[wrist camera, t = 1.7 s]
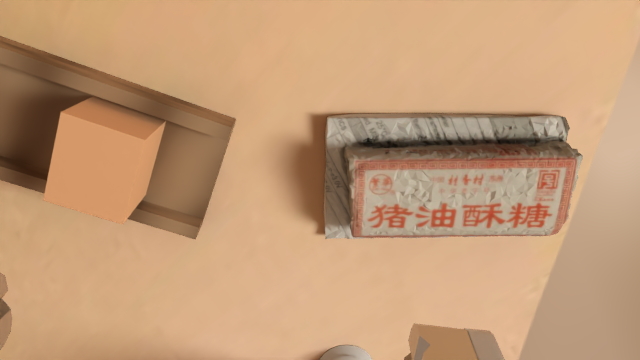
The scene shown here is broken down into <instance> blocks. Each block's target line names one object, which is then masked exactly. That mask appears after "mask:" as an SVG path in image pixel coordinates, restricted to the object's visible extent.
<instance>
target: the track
mask: <svg viewBox="0 0 640 360" xmlns="http://www.w3.org/2000/svg"><path fill="white" fill-rule="evenodd" d="M93 96H96V97H99V98H102V99H105V100H108V101H111V102H114V103H117V104H120V105H123V106H126V107H129V108H131V109H134V110H137V111H140V112H143V113H146V114H149V115H152V116H155V117H158V118H161V119H164V120H166V123H165V127H164V131H163V134H162V138H161V141H160V145H159V149H158V152H157V156H156V159H155V163H154V167H153V170H152V174H151V178H150V181H149V185H148V188H147V192H146V195H145V196H144V198H143V199H142V200H141V202H140V203H139V204H138V206H137V207H136V208H135V209H134V211H133V212H132V213H131V215H130V216H129V217H128V218H127V219H130V220H133V221H137V222H140V223H143V224H147V225H150V226H153V227H156V228H160V229H163V230H166V231H169V232H173V233H176V234H179V235H183V236H186V237H189V238H192V239H196V237H197V235H198V232H199V230H200V227H201V225H202V222H203V219H204V216H205V213H206V210H207V207H208V204H209V201H210V198H211V195H212V192H213V188H214V185H215V182H216V179H217V176H218V173H219V170H220V167H221V164H222V161H223V158H224V155H225V152H226V149H227V146H228V143H229V139H230V136H231V133H232V130H233V127H234V124H235V121H236V119H234V118H231V117H229V116H226V115H223V114H220V113H217V112H214V111H212V110H209V109H206V108H203V107H200V106H197V105H195V104H192V103H189V102H186V101H183V100H180V99H177V98H175V97H172V96H169V95H166V94H163V93H160V92H158V91H155V90H152V89H149V88H146V87H143V86H141V85H138V84H135V83H132V82H129V81H126V80H123V79H121V78H118V77H115V76H112V75H109V74H106V73H104V72H101V71H98V70H95V69H92V68H89V67H87V66H84V65H81V64H78V63H75V62H72V61H69V60H67V59H64V58H61V57H58V56H55V55H52V54H50V53H47V52H44V51H41V50H38V49H35V48H33V47H30V46H27V45H24V44H21V43H18V42H16V41H13V40H10V39H7V38H4V37H1V36H0V180H2V181H6V182H9V183H12V184H16V185H19V186H22V187H25V188H29V189H32V190H35V191H38V192H42V193H45V188H46V183H47V178H48V173H49V168H50V163H51V158H52V153H53V148H54V143H55V138H56V133H57V128H58V123H59V118H60V113H61V112H62V111H64V110H66V109H68V108H70V107H72V106H74V105H76V104H78V103H80V102H82V101H85V100H87V99H89V98H91V97H93Z"/></svg>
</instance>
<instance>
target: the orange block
mask: <svg viewBox="0 0 640 360" xmlns="http://www.w3.org/2000/svg"><path fill="white" fill-rule="evenodd" d="M165 123H166V120H164V119H161V118H158V117H155V116H152V115H149V114H146V113H143V112H140V111H137V110H134V109H131V108H129V107H126V106H123V105H120V104H117V103H114V102H111V101H108V100H105V99H102V98H99V97H96V96H93V97H91V98H89V99H87V100H85V101H82V102H80V103H78V104H76V105H74V106H72V107H70V108H68V109H66V110H64V111H62V112H61V113H60V118H59V123H58V128H57V133H56V138H55V143H54V148H53V153H52V158H51V163H50V168H49V173H48V178H47V183H46V188H45V193H44V199H43V200H44V201H47V202H50V203H53V204H57V205H60V206H63V207H67V208H70V209H73V210H77V211H80V212H83V213H86V214H90V215H93V216H96V217H100V218H103V219H106V220H110V221H113V222H116V223H119V224H124V222H125V221H126V220H127V218H128V217H129V216H130V215H131V213H132V212H133V211H134V209H135V208H136V207H137V206H138V204H139V203H140V202H141V200H142V199H143V198H144V196H145V195H146V192H147V188H148V185H149V181H150V178H151V174H152V170H153V167H154V163H155V159H156V156H157V152H158V149H159V145H160V141H161V138H162V134H163V131H164V127H165Z"/></svg>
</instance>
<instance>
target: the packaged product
mask: <svg viewBox="0 0 640 360" xmlns="http://www.w3.org/2000/svg"><path fill="white" fill-rule="evenodd" d="M569 129H570V128H569V125H568V123H567V120H566V118H565V117H562V116H553V115H546V116H509V115H490V114H442V113H387V114H345V115H334V116H328V117H327V123H326V132H325V148H326V171H325V181H324V220H325V237H326V239H330V238H348V239H358V238H386V237H390V238H421V237H432V238H437V237H451V236H462V237H477V236H548V235H553V234H556V233H558V232H559V230H560V229H561V227H562V225H563V224H564V223H565V222H566V221H567V220H568V216H569V215H568V211H569V208H570V201H571V197H572V192H573V191H574V189H575V186H576V181H577V179H578V175H577V174H578V170H579V166H580V163H581V160H582V155H581V154H580V153H578V150H577V149H572V148H571V147H570V145H569V144H568V143H567V142H566V140H567V135H568V130H569Z"/></svg>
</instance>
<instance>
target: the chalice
mask: <svg viewBox="0 0 640 360" xmlns="http://www.w3.org/2000/svg"><path fill="white" fill-rule="evenodd" d="M319 360H372V359H371V357H370V355H369V354H368V353H367V352H366V351H365V350H363V349H361V348H359V347H357V346H351V345H342V346H337V347H334V348H331V349H330V350H328V351H327V352H326V353H324V354H323V356H322V357H321V358H320V359H319Z"/></svg>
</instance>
